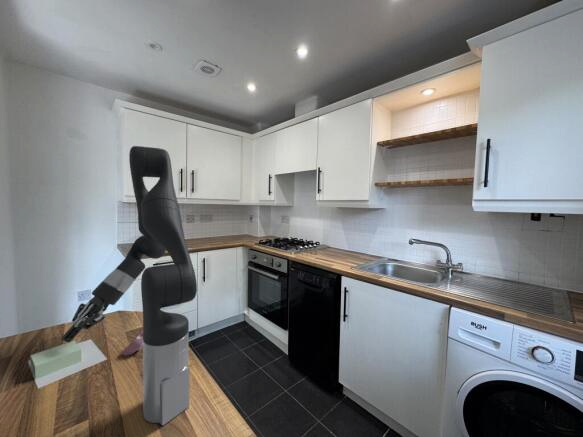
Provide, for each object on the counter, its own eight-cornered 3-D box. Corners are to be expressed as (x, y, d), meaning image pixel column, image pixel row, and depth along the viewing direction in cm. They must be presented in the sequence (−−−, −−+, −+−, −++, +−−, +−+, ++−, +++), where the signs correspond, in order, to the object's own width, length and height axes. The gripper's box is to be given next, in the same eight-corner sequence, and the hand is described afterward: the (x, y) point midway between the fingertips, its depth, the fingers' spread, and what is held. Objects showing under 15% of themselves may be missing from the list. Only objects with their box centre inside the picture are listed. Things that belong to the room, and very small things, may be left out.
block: (81, 349, 67) (34, 366, 60) (81, 361, 68) (34, 380, 60) (74, 340, 71) (29, 355, 64) (74, 351, 72) (30, 368, 64)
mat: (107, 360, 69) (107, 359, 69) (37, 389, 58) (37, 388, 58) (90, 340, 78) (90, 339, 78) (27, 362, 67) (27, 361, 67)
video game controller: (133, 362, 71) (143, 343, 70) (119, 355, 71) (129, 335, 70) (152, 343, 80) (161, 325, 80) (140, 336, 80) (150, 319, 80)
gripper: (95, 276, 77) (44, 328, 68) (114, 285, 71) (60, 344, 61) (114, 287, 82) (69, 337, 73) (133, 296, 76) (86, 352, 66)
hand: (65, 340), depth 67 cm, fingers closed
